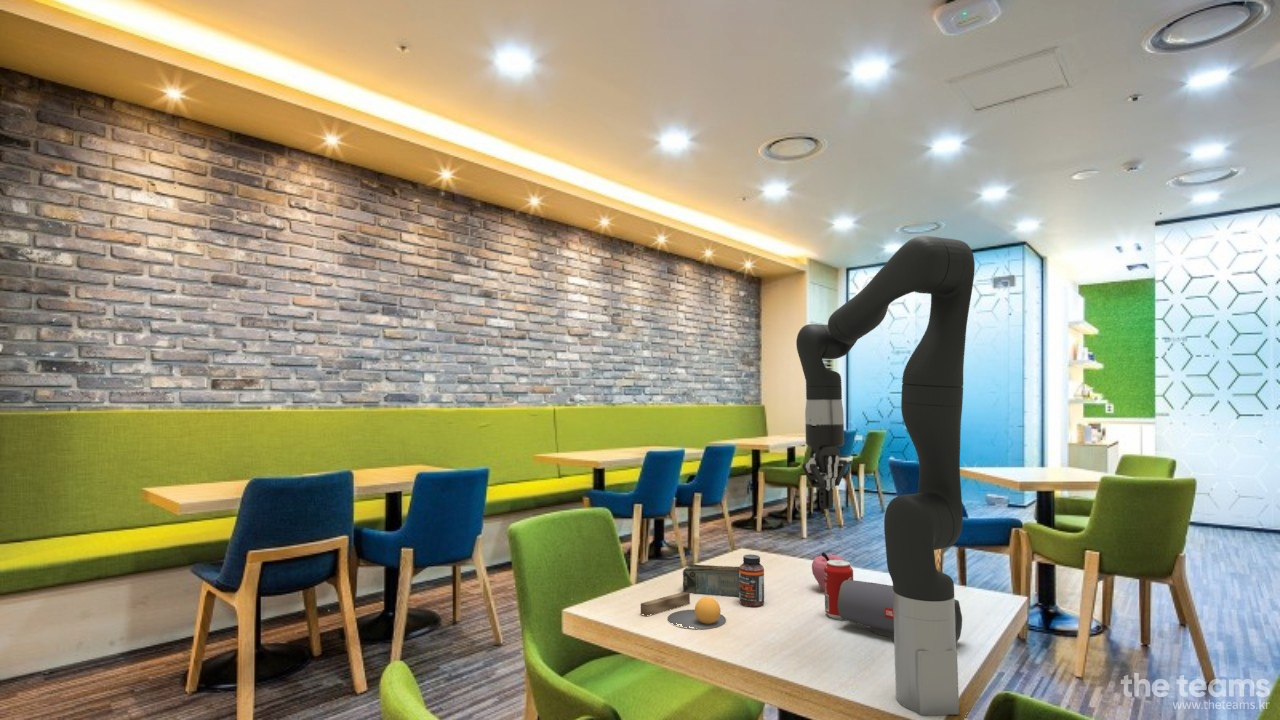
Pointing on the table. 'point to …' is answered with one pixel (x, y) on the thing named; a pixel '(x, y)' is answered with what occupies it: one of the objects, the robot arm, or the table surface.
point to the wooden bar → (665, 603)
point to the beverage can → (835, 584)
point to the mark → (693, 620)
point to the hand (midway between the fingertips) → (826, 508)
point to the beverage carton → (711, 580)
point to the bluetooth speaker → (875, 607)
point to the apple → (822, 567)
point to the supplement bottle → (751, 581)
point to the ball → (707, 610)
